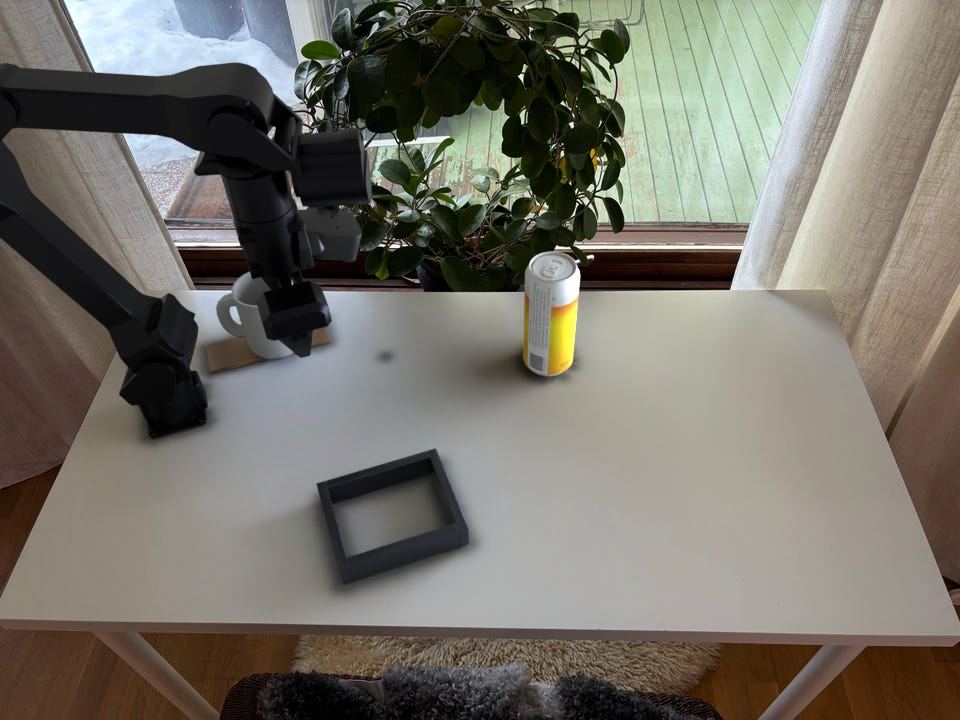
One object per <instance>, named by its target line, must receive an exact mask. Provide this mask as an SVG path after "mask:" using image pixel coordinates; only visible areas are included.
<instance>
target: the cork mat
mask: <svg viewBox="0 0 960 720" xmlns="http://www.w3.org/2000/svg"><path fill="white" fill-rule="evenodd" d="M329 344H331V340H330V337H329V334H328V330H327V327H323V328H320V329H316V330H313V336H312V345H311V349H313V348H316V347H320V346H324V345H329ZM205 350H206V356H207V363H208V369H209V373H210V374H211V375H213V374H215V373H220V372H224V371H227V370H232V369H235V368H239V367H243V366H246V365H252V364H255V363H258V362H262V361H266V360H268V359H267V358H263V357H260V356H258V355H256V354H255V353H254V352H253V351H252V350H251V349H250V347H249V344H248V342H247V339H246V337H237V336H234V337H232V338H227V339H224V340H219V341H216V342H212V343H207V344H205Z"/></svg>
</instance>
